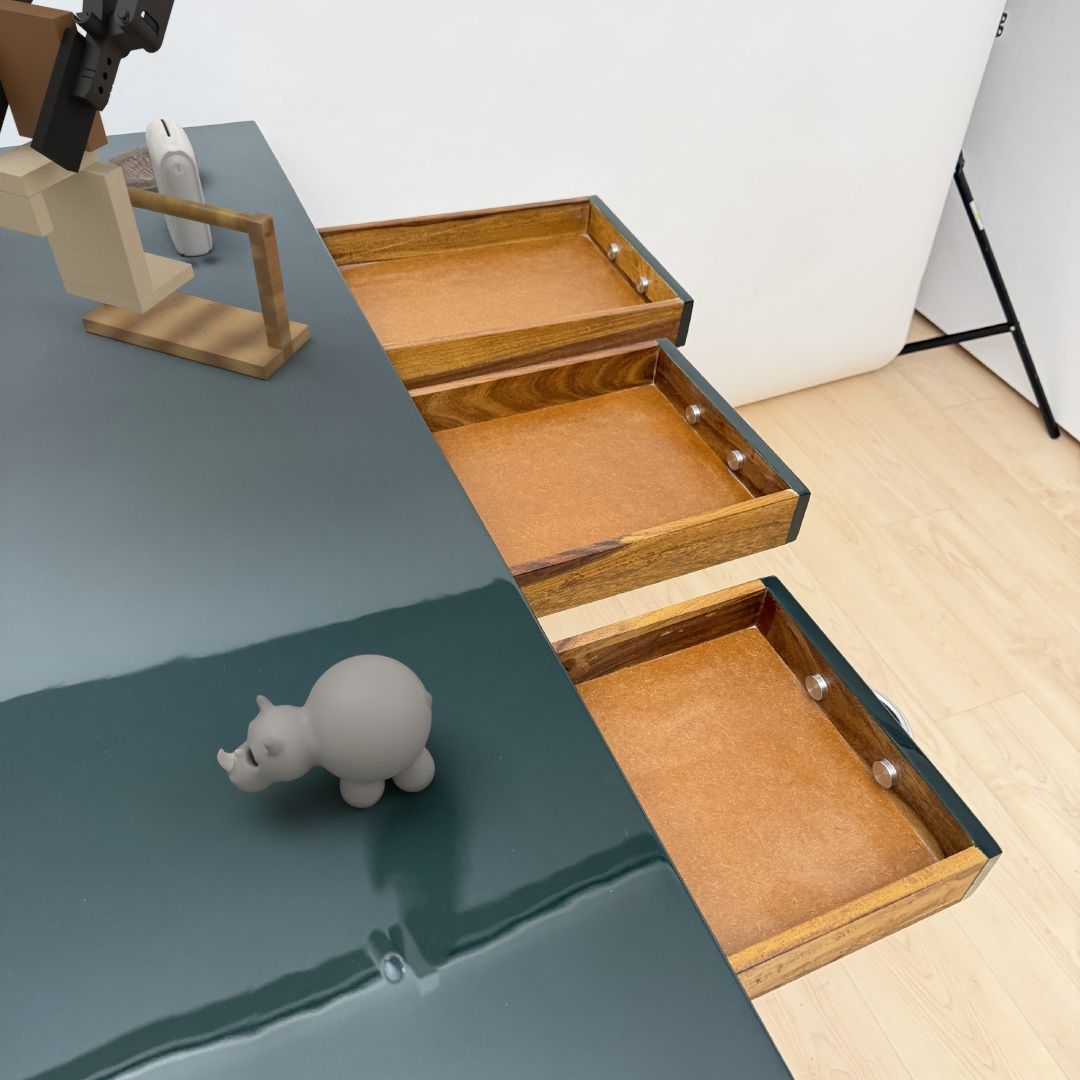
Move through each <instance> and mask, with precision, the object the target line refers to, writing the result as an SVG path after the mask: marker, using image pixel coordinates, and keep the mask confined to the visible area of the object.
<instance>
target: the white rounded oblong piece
mask: <svg viewBox="0 0 1080 1080" xmlns="http://www.w3.org/2000/svg"><path fill="white" fill-rule="evenodd" d="M144 135H145V137H144V138H145V141H146V146H147V147H148V150H149V154H150V158H151V163H152V167H153V171H154V175H155V179H156V183H157V187H158V191H159V194H164V195H168V196H172V197H177V198H181V199H186V200H190V201H194V202H199V203H203V204H206V201H205V198H204V193H203V187H202V183H201V178H200V173H199V169H198V162H197V163H196V158H197V157H196V158H195V155H196V154H195V155H194V153H195V152H194V149H193V145H192V144H191V143H192V142H191V141H190V139H189V136H188V135H187V133H186V132H185V130H184V129H183V127H182V126H181V125H180V124H179V123H178V122H177V121H176V120H174V119H173V118H170V117H167V116H164V117H162V118H161V117H154V118H152V119H151V120H150V121H149V122H148V124H147V125H146V129H145V133H144ZM163 217H164V220H165V224H166V227H167V231H168V233H169V236H170V238H171V241H172V243H173V245H174V248H175V250H176V251H177V253H178V254H180V255H184V256H185V257H197V256H203V255H206V254H208V253H209V252H210V251H211V250H213V239H212V233H211V228H210V225H209V224H205V223H201V222H196V221H192V220H188V219H184V218H179V217H175V216H171V215H166V214H163Z"/></svg>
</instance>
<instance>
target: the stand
mask: <svg viewBox="0 0 1080 1080" xmlns="http://www.w3.org/2000/svg"><path fill="white" fill-rule="evenodd" d="M126 187H127V190H128V194H129V198H130V202H131V206H132V208H136V209H141V210H146V211H150V212H154V213H158V214H163V215H164V214H166V215H171V216H175V217H179V218H184V219H188V220H192V221H196V222H201V223H205V224H209V226H214V227H219V228H222V229H227V230H231V231H234V232H235V231H236V232H238V233H239V232H240V233H244V234H248V239H249V245H250V251H251V257H252V262H253V263H252V264H253V269H254V273H255V279H256V285H257V291H258V296H259V301H260V308H261V312H259V311H254V310H250V309H246V308H242V307H238V306H235V305H230V304H226V303H222V302H219V301H214V300H210V299H207V298H202V297H199V296H195V295H191V294H187V293H183V292H180V291H177V290H175V291H174V292H173V293H171V294H170V295H169V296H167V297H166V298H164V299H163V300H162V301H160V302H159V303H157V304H156V305H155V306H153V307H152V308H150V309H149V310H148V311H146V312H145V313H143V314H142V313H138V312H134V311H130V310H127V309H123V308H119V307H116V306H112V305H108V304H105V303H101V304H99V305H98V306H96V307H95V308H94V309H92V310H91V311H89V312H88V313H86V314H85V315H83V316H81V322H82V324H83V327H84V331H85V332H88V333H91V334H95V335H98V336H101V337H106V338H109V339H113V340H117V341H121V342H124V343H127V344H132V345H135V346H139V347H143V348H145V349H146V348H147V349H150V350H154V351H158V352H161V353H165V354H168V355H172V356H176V357H180V358H184V359H187V360H191V361H194V362H198V363H202V364H205V365H210V366H213V367H216V368H220V369H224V370H228V371H232V372H236V373H239V374H242V375H247V376H250V377H254V378H256V379H257V378H258V379H261V380H264V381H266V380H268V379H269V378H270V377H271V376H272V375H274V374H275V372H277V370H279V369H280V368H281V367H283V365H284V364H285V363H286V362H287V361H288V360H289V359H290V358H291V357H292V356H293V355H295V354H296V353H297V352H298V351H299V350H300V349H301V348H302V347H303V346H304V345H305V344H306V343H307V342H308V341H309V340H311V333H310V325H309V324H306V323H301V322H298V321H295V320H294V321H293V320H289V315H288V308H287V307H288V306H287V301H286V294H285V288H284V283H283V275H282V274H283V273H282V268H281V263H280V255H279V250H278V242H277V236H276V229H275V223H274V217H273V214H268V213H265V212H259V211H257V212H256V213H254V214H251V213H246V212H242V211H239V210H234V209H229V208H225V207H221V206H215V205H211V204H207V203H205V204H203V203H199V202H194V201H190V200H186V199H181V198H177V197H172V196H168V195H164V194H159V193H155V192H151V191H146V190H142V189H137V188H133V187H129V186H126Z"/></svg>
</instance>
